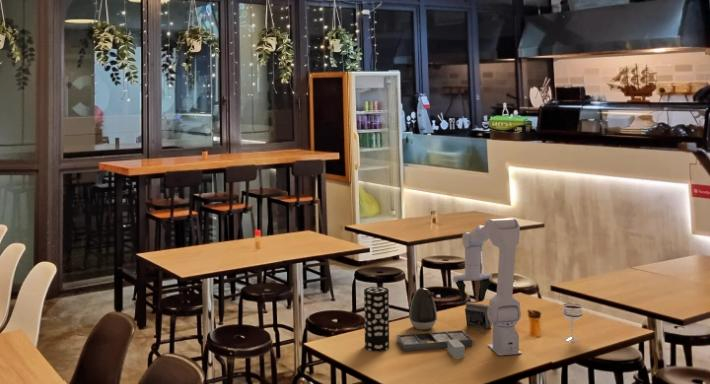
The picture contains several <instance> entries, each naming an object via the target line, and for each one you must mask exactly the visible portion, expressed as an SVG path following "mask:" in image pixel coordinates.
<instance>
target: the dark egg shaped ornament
mask: <svg viewBox="0 0 710 384" xmlns="http://www.w3.org/2000/svg"><path fill="white" fill-rule="evenodd" d="M434 295H435V293H434V292H431V291H430V290H429V289H428V288H426V287H420V288H418V289H417V290H416V291H415V293H414V294H413V297H412V299H411V303H410V309H409V317H408V319H409V320H410V324H411V325H412V327H414V328H415V329H417V330H421V331H426V330H430V329H431V328H433V327H434V326H435V324H436V322H437V319H438V316H437V315H438V314H437V306H436V303H435V301H434V297H433V296H434Z"/></svg>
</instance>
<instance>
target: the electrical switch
mask: <svg viewBox="0 0 710 384" xmlns="http://www.w3.org/2000/svg"><path fill="white" fill-rule="evenodd" d="M488 306H489V304H482V303H475V302H471V301H467V302H466V303H465V308H464V313H465V321H466V327H467V326H468V327H467V328H475V329H479V330H485V331H487V330H488V329H489V328H490V329H491V328H492V327H493V324H492V323H491V322H490V321H489V319H488V316H487V309H488Z"/></svg>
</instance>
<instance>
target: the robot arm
mask: <svg viewBox="0 0 710 384" xmlns="http://www.w3.org/2000/svg"><path fill="white" fill-rule="evenodd" d="M520 231H521V227H520V223H519V221H518V220H517V218H516V217H510V218H509V217H508V218H493V219H492V218H488V219H487V220H485V224H484V225H482V224H477V225H476V227H475V228H473V229H471V231H464V232H463V233H462V237H461V239H462V246H463V247H464V274H459V275H453V277H452V279H453V280H452V281H453V282H455V285H456V287H457V289H458V292H459V296H460V300H461V301H463V302H465V300H466V298H465V297H466V295H465V294H466V293H465V291H466V285H467V284H466V283H465V282H470V281H472V282H473V281H479V288H480V294H479V296H480V297H479V298H480V299H481V300H485V296H486V294H487V291H488V288H489V287H490V286H491V281H492V280H493V274H491V273H481V269H482V267H481V264H482V263H481V262H482V261H481V254H482V251H483V246H484V243H485V242H487V241H488V240H490V242H491V244H492V245H493V246H494V247H497V248H498V249H499V251H498V253H499V254H498V267H497V281H496V282H497V284H496V294H495V295H494V296H492V297H491V298H489V302H488V305H489V306H488V309H487V316H488V319H489V321H490V322H491V323H492V343H490V344H489V343H488V344H487V346H488V347H489V348H490V349H491V350H492V351H493V352H494V353H496V354H497V356H510V355H521V354H522V351H521V350H520V348H519V347H520V335H519V333H518V331H517V330H516V325H518V322H519V321H520V319H521V317H522V311H521V302H520V301H519V300H518V298H517V297H515V296H513V291H514V290H513V289H514V276H515V262H516V249H517V247H516V246H517V245H519V243H520V233H521V232H520Z"/></svg>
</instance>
